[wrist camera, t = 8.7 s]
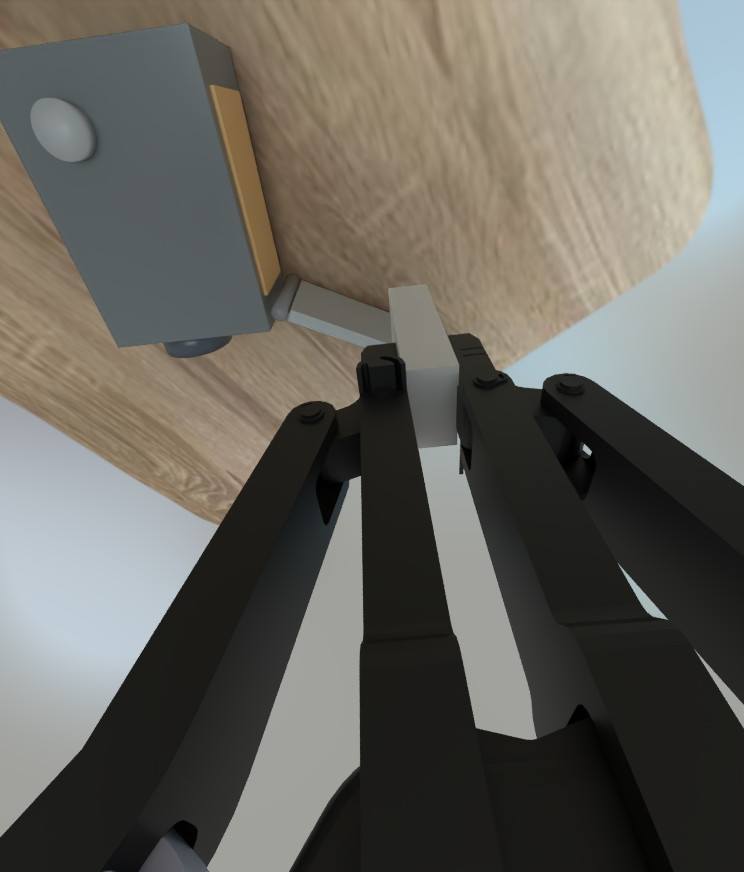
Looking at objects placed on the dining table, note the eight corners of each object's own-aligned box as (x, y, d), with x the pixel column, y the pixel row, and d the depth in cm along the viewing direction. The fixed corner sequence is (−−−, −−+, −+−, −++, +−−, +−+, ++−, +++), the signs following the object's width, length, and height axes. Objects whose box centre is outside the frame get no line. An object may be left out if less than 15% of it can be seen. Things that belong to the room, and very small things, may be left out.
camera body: (59, 70, 24) (-48, 52, 17) (232, 46, 23) (185, 18, 17) (168, 328, 33) (124, 375, 27) (293, 314, 33) (277, 359, 26)
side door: (445, 330, 34) (461, 369, 28) (437, 346, 34) (451, 387, 29) (288, 271, 30) (273, 303, 25) (283, 291, 31) (267, 325, 26)
